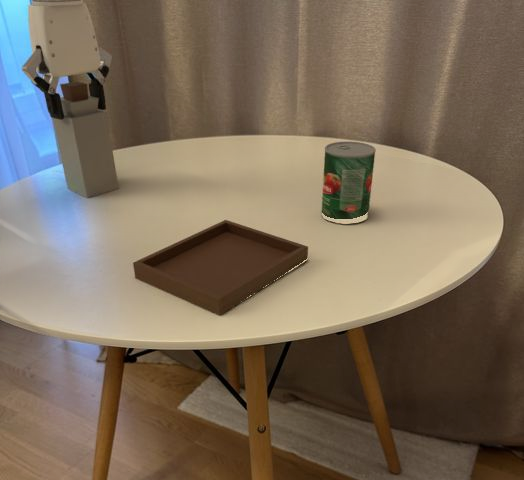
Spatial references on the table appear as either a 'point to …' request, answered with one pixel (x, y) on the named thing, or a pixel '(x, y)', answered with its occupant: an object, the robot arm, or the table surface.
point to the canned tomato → (347, 179)
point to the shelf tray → (220, 265)
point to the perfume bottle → (85, 143)
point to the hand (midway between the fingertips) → (78, 112)
